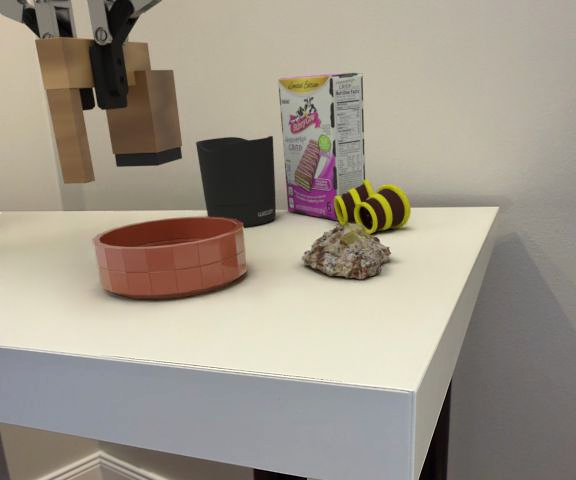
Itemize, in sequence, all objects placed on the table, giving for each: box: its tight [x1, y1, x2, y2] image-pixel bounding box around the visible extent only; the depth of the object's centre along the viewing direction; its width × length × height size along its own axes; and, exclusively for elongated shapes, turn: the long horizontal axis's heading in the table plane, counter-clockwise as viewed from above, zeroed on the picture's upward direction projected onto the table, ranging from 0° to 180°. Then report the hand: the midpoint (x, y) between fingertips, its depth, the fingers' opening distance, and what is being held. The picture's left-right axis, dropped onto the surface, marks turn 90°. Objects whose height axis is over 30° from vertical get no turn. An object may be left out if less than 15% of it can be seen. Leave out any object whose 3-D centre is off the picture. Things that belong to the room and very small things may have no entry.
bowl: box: [91, 215, 248, 300], centre depth 59 cm, size 13×13×4 cm
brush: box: [34, 37, 183, 185], centre depth 50 cm, size 14×4×9 cm, turn 164°
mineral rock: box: [301, 222, 392, 280], centre depth 60 cm, size 11×4×8 cm
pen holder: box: [195, 135, 277, 228], centre depth 82 cm, size 9×9×10 cm
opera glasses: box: [334, 179, 412, 235], centre depth 74 cm, size 10×5×5 cm, turn 22°
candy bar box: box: [277, 72, 366, 221], centre depth 82 cm, size 11×5×16 cm, turn 34°
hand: (96, 107), depth 48 cm, fingers closed on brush, 2 cm apart
